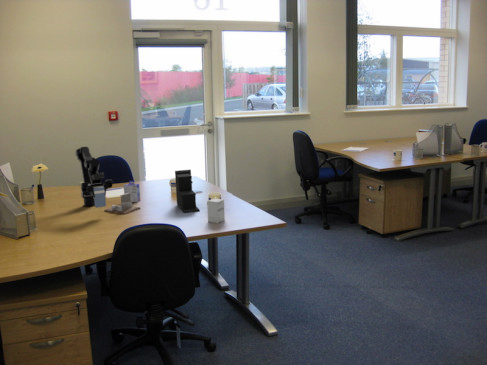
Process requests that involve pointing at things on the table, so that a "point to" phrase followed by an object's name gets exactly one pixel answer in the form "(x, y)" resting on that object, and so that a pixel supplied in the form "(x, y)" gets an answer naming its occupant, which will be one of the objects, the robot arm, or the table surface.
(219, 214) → the supplement box
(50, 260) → the table surface
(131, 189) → the ink cartridge box
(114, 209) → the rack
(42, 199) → the table surface
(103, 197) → the book
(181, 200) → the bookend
